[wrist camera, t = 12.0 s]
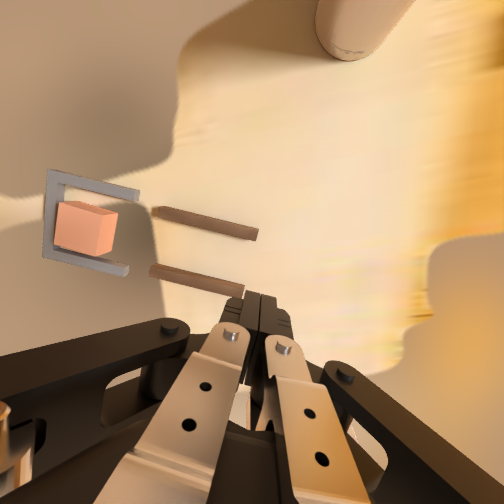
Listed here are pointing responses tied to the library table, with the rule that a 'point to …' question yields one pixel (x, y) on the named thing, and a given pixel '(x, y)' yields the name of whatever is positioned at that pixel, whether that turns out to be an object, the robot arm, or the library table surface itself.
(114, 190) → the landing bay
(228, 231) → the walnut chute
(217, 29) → the library table surface
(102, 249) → the terracotta block
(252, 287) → the library table surface
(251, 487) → the robot arm
